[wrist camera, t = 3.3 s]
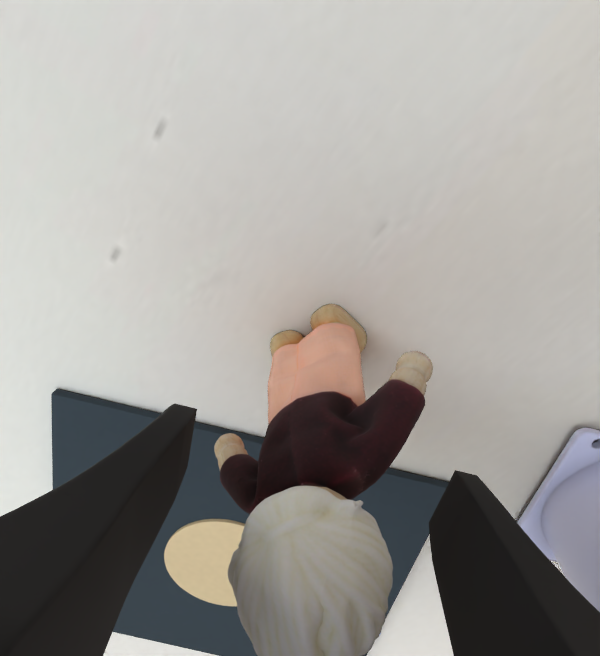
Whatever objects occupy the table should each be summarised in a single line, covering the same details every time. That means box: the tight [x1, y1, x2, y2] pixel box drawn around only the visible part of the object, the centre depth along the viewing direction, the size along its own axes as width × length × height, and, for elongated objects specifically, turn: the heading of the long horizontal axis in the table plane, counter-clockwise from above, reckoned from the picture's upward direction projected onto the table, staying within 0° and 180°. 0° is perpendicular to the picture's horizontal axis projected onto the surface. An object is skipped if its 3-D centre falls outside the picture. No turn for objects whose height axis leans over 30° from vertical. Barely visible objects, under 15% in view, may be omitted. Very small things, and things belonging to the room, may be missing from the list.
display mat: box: [52, 389, 449, 656], centre depth 25 cm, size 20×18×1 cm
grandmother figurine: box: [214, 304, 433, 656], centre depth 13 cm, size 8×4×13 cm, turn 133°
